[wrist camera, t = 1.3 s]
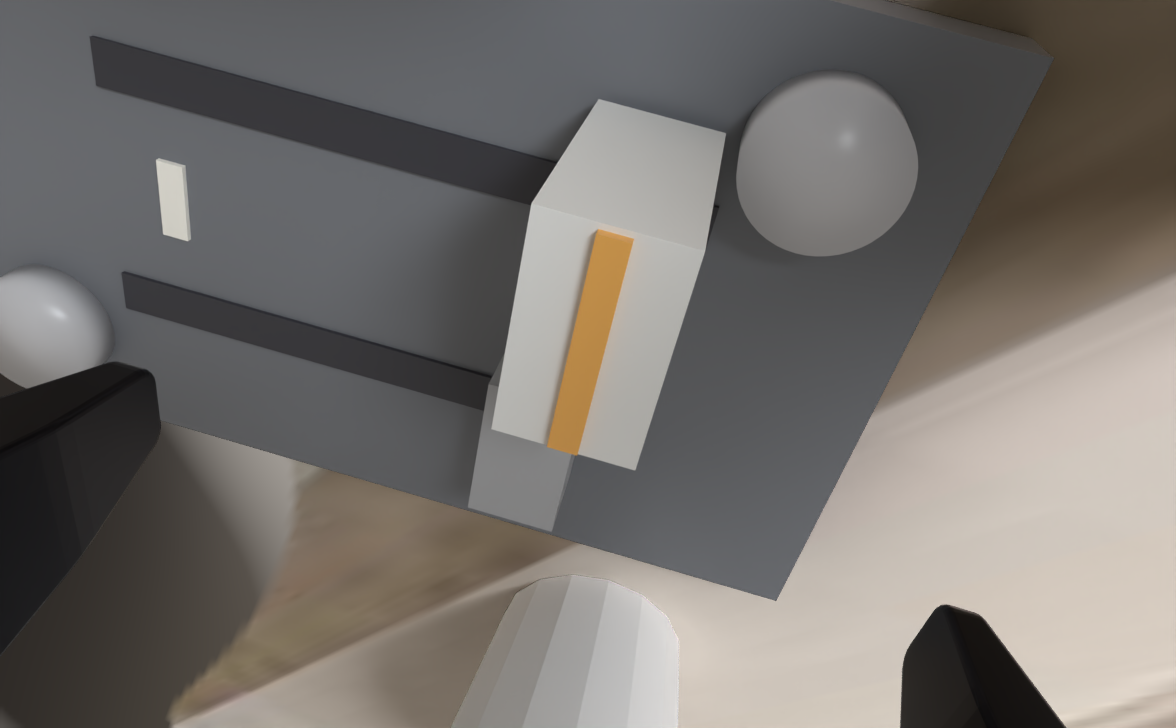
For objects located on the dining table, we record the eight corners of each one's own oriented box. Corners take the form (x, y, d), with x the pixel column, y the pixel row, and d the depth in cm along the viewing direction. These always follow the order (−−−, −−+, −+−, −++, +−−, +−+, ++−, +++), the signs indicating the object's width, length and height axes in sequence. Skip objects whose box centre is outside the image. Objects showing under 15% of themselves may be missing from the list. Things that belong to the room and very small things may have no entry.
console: (1031, 38, 15) (1090, 91, 12) (776, 558, 23) (775, 664, 20) (-103, -256, 16) (-296, -271, 13) (28, 341, 24) (-75, 412, 21)
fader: (726, 133, 15) (704, 256, 11) (669, 316, 18) (634, 477, 13) (598, 99, 15) (528, 208, 11) (559, 285, 18) (488, 435, 13)
